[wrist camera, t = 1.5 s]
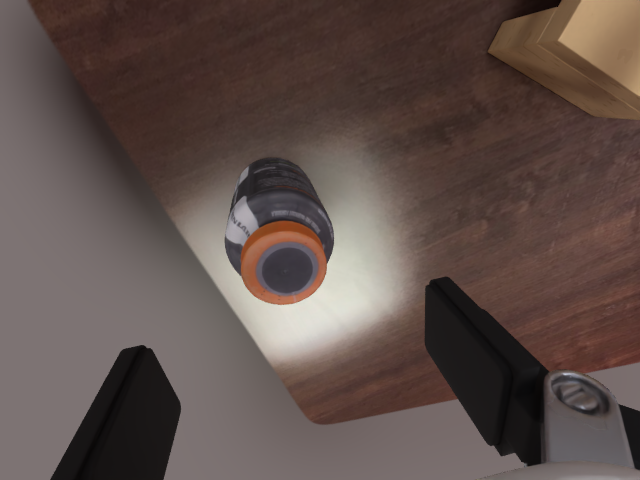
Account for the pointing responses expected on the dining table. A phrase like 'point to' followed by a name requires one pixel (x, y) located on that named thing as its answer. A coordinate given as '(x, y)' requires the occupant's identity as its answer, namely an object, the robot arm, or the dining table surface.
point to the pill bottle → (278, 232)
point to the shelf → (580, 53)
